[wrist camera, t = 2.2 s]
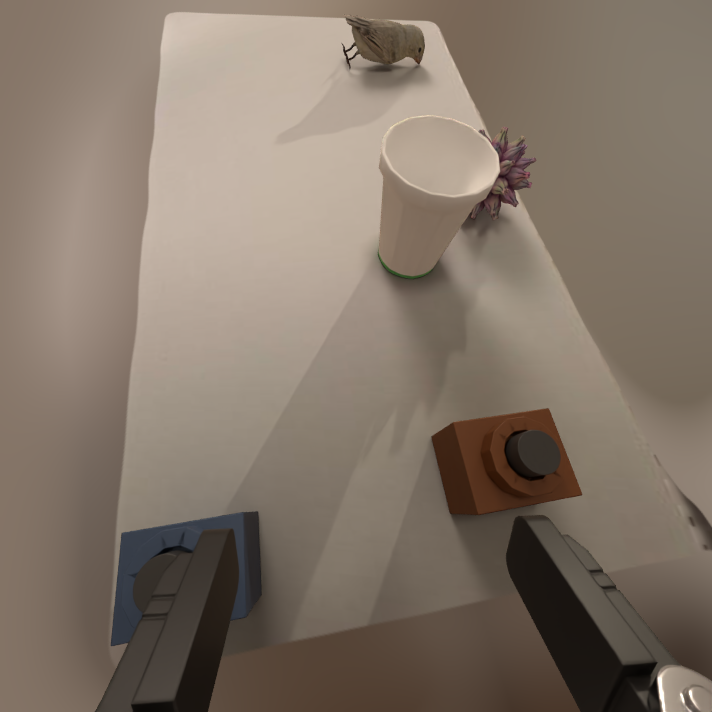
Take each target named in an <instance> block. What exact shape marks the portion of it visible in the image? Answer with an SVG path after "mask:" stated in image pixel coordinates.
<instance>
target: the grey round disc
mask: <svg viewBox="0 0 712 712" xmlns="http://www.w3.org/2000/svg"><path fill="white" fill-rule="evenodd" d="M506 456H507V459H508V462H509V464H510V465H511V467H512V468H513V469H514V470H515V471H516V472H518V473H519V474H521V475H523V476H526V477H535V476H542V475H548V474H551V473H553V472H555V471H556V470H557V468H558V467H559V464H560V460H561V455H560V450H559V447H558V445H557V444H556V442H555V441H554V439H553V438H552V437H551V436H549V435H548V434H547V433H545V432H543V431H540V430H529V431H526V432H523V433H521V434H518V435H515V436H513V437H512V438H511V439H510V440H509V441H508V443H507V446H506Z"/></svg>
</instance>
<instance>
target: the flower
mask: <svg viewBox="0 0 712 712" xmlns="http://www.w3.org/2000/svg"><path fill="white" fill-rule="evenodd" d="M507 130H508V128H506V127H502V129H501V131H500V133H499V134H498V135H497V136H496V137H495V138H494V139H493V141H492V143H491V141H490V139H489V138H488V137H487V136H486V135H485V132H484V129H482V130H479V133H480V134H482V135H483V136H484V137H486V138H487V139H488V140H489V142H490V143H491V145H492V146H493V148H494V149H495V151H496V152H497V153H498V156H499V166H500V173H499V175H498V177H497V179H496V181H495V183H494V185H493V187H492V188H491V190H490V192H489V194H488V195H487V197H486V199H484V200H483V201H481V202H479V203H478V204H476V205H475V206H474V208H473V209H472V214H471V218H473V219H475V218H476V216H477V214H478V213H479V212H480V211H482V209H483V208H484V206H485V208H486V210H487V212H488V213H489V214H490V215H491V216H492V219H493V220H495V219H497V218H498V212H499V210H500V207H501V201H502V202H503V203H508V204H511V205H513V206H514V207H516V206H517V204H518V201H517V200H516V196H515V191H514V190H519V189H522V188H526V187H527V188H530V187H531V184H532V183H531V182H528V181H527V180H526V179H528V178H529V176H530V172H525V171H524V169H525V168H526V167H527V166H529V165H530V164H531V163H534V162H535V161H536V159H535V158H531V159H527V158H521V156H522V155H523V154H524V152H525V151H524V150H525V149H526V148H527V145H525V144H522V143H523V142H524V141H525V138H524V137H523V136H521V137H520V138H519V139H518V140H516V141H514V142H511V143H509V144H508V140H507Z"/></svg>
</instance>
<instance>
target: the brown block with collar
mask: <svg viewBox="0 0 712 712" xmlns="http://www.w3.org/2000/svg"><path fill="white" fill-rule="evenodd" d="M529 430H540V431H543V432H545V433H547V434H548V435H549V436H551V437H552V438H553V439H554V441H555V442H556V444H557V445H558V447H559V450H560V455H561V460H560V464H559V467H558V468H557V470H556V471H555V472H553V473H551V474H548V475H542V476H535V477H526V476H523V475H521V474H519V473H518V472H516V471H515V470H514V469H513V468H512V467H511V465H510V464H509V462H508V459H507V456H506V446H507V443H508V441H509V440H510V439H511V438H512V437H513V436H515V435H518V434H521V433H523V432H526V431H529ZM432 441H433V445H434V449H435V453H436V457H437V462H438V466H439V470H440V474H441V478H442V482H443V486H444V490H445V494H446V498H447V502H448V507H449V511H450V514H468V515H481V514H487V513H492V512H497V511H502V510H507V509H513V508H518V507H523V506H528V505H534V504H539V503H544V502H549V501H555V500H560V499H565V498H570V497H576V496H581V495H582V492H581V490H580V487H579V485H578V482H577V479H576V477H575V474H574V472H573V469H572V467H571V464H570V461H569V459H568V456H567V454H566V451H565V449H564V446H563V444H562V441H561V438H560V436H559V433H558V431H557V428H556V426H555V423H554V421H553V418H552V415H551V413H550V410H549V409H548V408H547V409H540V410H533V411H526V412H519V413H513V414H506V415H499V416H492V417H485V418H478V419H472V420H465V421H458V422H453V423H451V424H450V425H448V426H447V427H445V428H444V429H442V430H441V431H439V432H438V433H436V434H435V435H433V436H432Z"/></svg>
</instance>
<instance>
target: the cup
mask: <svg viewBox="0 0 712 712" xmlns="http://www.w3.org/2000/svg"><path fill="white" fill-rule="evenodd" d="M379 169H380V171H381V173H382V175H383V191H382V207H381V222H380V237H379V249H378V256H379V258H380V261H381V263H382V264H383V265H384V267H385V268H386V269H387V270H388V271H389V272H391V273H393V274H395V275H397V276H400V277H404V278H411V279H413V278H418V277H422V276H424V275H426V274H428V273H429V272H430V271H432V269H433V267H434V266H435V264H436V263H437V261H438V260H439V258H440V257H441V255H442V254H443V252H444V251H445V249H446V248H447V246H448V245H449V243H450V242H451V240H452V239H453V237H454V236H455V234H456V233H457V231H458V230H459V228H460V227H461V226H462V224H463V223H464V221H465V220H466V218H467V217H468V215H469V214H470V212H471V211H472V209H473V208H474V206H475V205H476V204H478V203H479V202H481V201H483V200H484V199H486V197H487V195H488V194H489V192H490V190H491V188H492V187H493V185H494V183H495V181H496V179H497V177H498V175H499V173H500V166H499V156H498V153H497V152H496V151H495V149H494V148H493V146H492V145H491V143H490V142H489V140H488V139H487V138H486V137H484V136H483V135H482V134H480V133H479V132H478V131H477V130H475V129H474V128H473V127H471V126H469V125H466V124H464V123H461V122H459V121H456V120H454V119H451V118H445V117H439V116H433V115H426V116H417V117H409V118H407V119H405V120H403V121H400V122H398V123H396V124H394V125H392V127H391V128H390V129H389V130H388V132H387V133H386V134H385V135H384V137H383V139H382V146H381V154H380V163H379Z"/></svg>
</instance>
